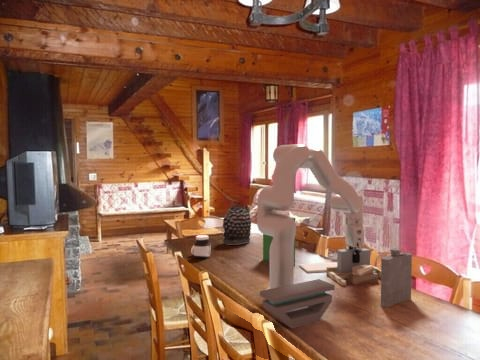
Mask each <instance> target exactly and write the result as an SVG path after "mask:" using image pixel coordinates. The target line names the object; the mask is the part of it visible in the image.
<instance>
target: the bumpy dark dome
mask: <svg viewBox="0 0 480 360" xmlns="http://www.w3.org/2000/svg"><path fill="white" fill-rule="evenodd" d="M251 208H252V206H251V205H250V204H247V205H243V204H242V205H233V204H231V205H230V208H229V209H228V210H227V212H226V214H224V218H223V221H222V227H223V233H222V237H223V238H224V239H223V243H224V245H230V246H231V245H234V246H235V245H242V244H247V243H250V241H251V238H250V236H251V232H252V231H251V230H252V227H251V226H252V218H251Z"/></svg>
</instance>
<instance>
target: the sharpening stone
mask: <svg viewBox="0 0 480 360" xmlns="http://www.w3.org/2000/svg"><path fill="white" fill-rule="evenodd" d="M335 288H336V287H335V284H333V283H330V282H328V281H325V280H322V279H319V278H317V279H312V280H308V281H303V282H298V283H294V284H292V285H288V286H283V287H278V288H273V289H268V290H266V289H264V290H260V291H259V297H261V298H263V299H264V300H262V308H263V309H264V310H265V311H267V312H268V313H269V314H270V315H271V316H272V317H273V318H275V320H277V321H278V322H280V323H281V324H283V325H285V326H287V327H288V328H290V329H294V328H298V327H302V326H306V325H309V324H312V323H316V322H319V321H320V320H321V319H322V317H323V316H324V314H325V313H326V311H327V310H328V308H329V307H330V306H331V304H332V303H333V295H332V294H331V293H328V292H331V291H335Z"/></svg>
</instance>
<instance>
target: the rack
mask: <svg viewBox="0 0 480 360" xmlns="http://www.w3.org/2000/svg"><path fill="white" fill-rule="evenodd" d="M370 265H371V266H373V272H375V273H377V274H378V279H380V280H381V268H379V267H377V266H375V265H373V264H370ZM349 273H353V272H349ZM326 275H327V276H328V277H329V278H330V279H332V280H334V281H335V282H336V283H338V284H339V285H340V286H342V287H345V286H347V280H348V273H337V267H327V272H326Z"/></svg>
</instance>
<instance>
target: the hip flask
mask: <svg viewBox="0 0 480 360" xmlns="http://www.w3.org/2000/svg"><path fill="white" fill-rule="evenodd" d="M389 252H390V254H389V255H385V256H383V257H381V258H380V259H381V264H380V265H381V267H380V269H381V279H380V307H382V308H390V307H393V306H394V305H397V304H399V303H404V302H409V301H411V300H412V269H413V268H412V266H413V264H412V263H413V261H412V260H413V257H412V256H413V254H412V253H411V252H402V251H401V249H400V248H395V247H394V248H390V249H389Z"/></svg>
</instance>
